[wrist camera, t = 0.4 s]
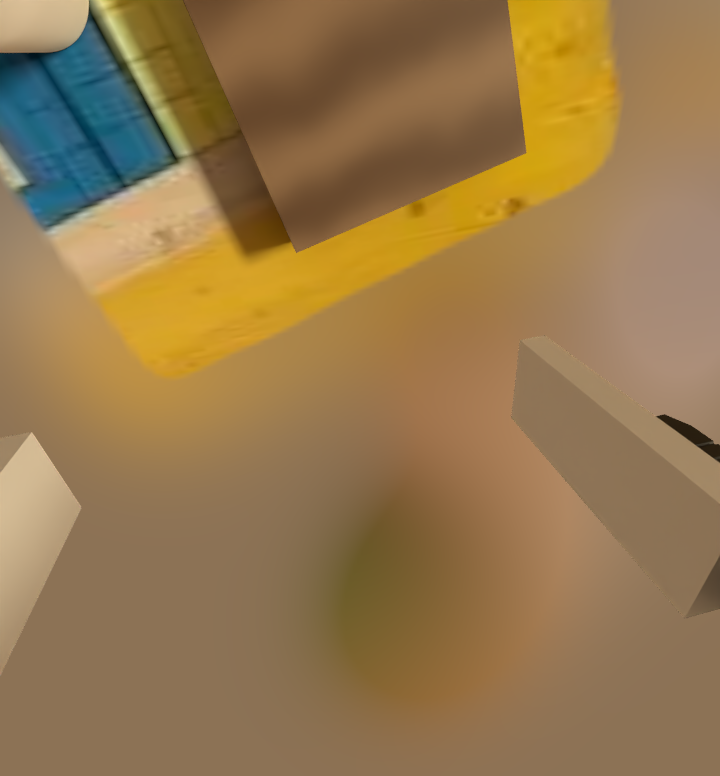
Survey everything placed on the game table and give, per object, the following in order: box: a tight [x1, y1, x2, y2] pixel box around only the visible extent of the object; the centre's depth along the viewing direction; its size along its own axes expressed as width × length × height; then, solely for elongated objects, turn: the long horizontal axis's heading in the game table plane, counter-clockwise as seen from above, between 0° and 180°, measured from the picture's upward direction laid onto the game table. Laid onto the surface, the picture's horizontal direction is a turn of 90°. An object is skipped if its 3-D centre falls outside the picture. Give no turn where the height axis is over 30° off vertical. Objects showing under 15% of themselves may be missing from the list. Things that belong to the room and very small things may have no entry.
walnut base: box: [183, 0, 526, 253], centre depth 27 cm, size 18×18×4 cm
